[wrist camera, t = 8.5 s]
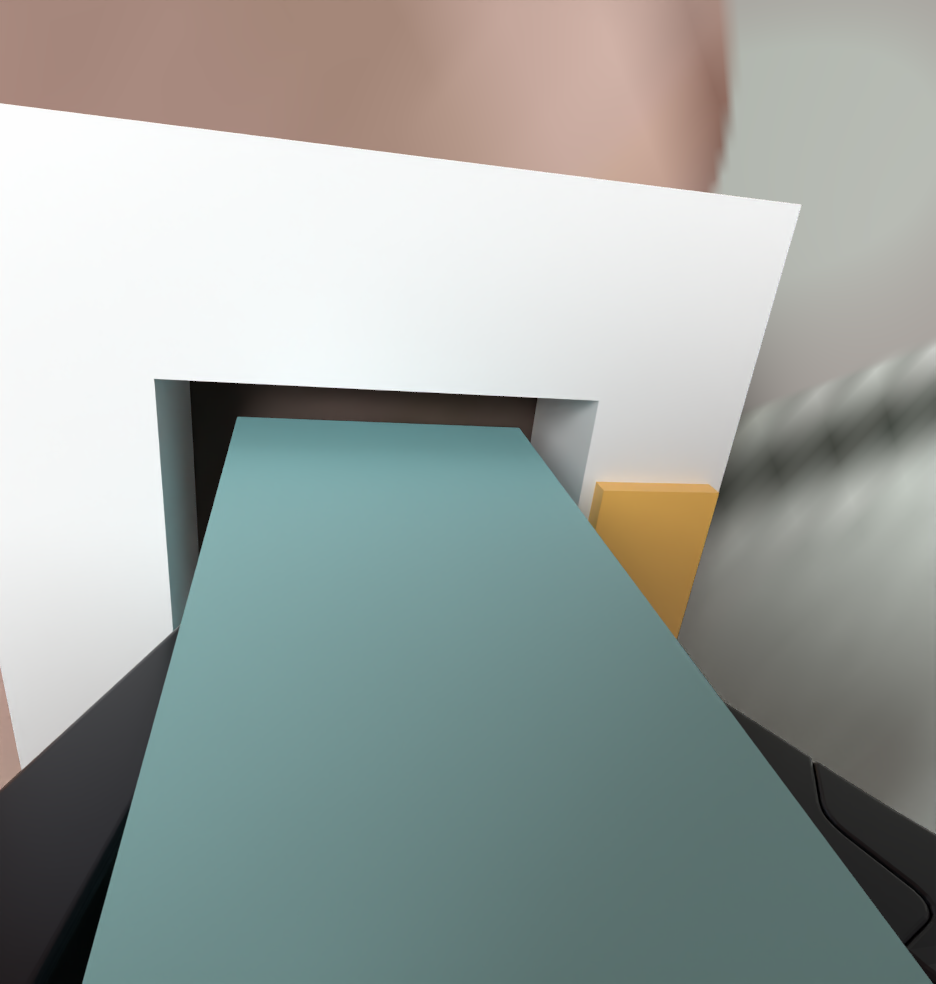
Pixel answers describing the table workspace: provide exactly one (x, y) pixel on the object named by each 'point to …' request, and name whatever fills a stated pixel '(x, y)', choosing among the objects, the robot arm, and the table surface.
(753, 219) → the socket plate
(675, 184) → the table surface
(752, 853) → the peg
